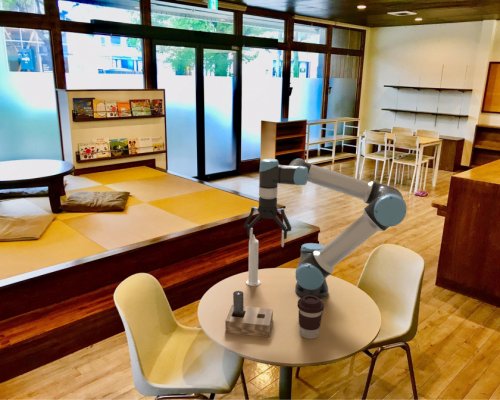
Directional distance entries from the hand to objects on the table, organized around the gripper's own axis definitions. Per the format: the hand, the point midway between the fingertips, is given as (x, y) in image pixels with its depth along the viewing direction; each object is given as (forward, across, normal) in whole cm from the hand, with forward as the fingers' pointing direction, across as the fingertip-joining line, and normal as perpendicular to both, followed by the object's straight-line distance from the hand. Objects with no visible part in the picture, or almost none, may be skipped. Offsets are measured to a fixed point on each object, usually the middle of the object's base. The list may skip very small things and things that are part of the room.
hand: (266, 244), depth 179 cm
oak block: (+27, +4, +21) cm, 34 cm away
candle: (+27, +8, -15) cm, 32 cm away
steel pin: (+26, +8, +21) cm, 34 cm away
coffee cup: (+27, -20, +22) cm, 40 cm away
